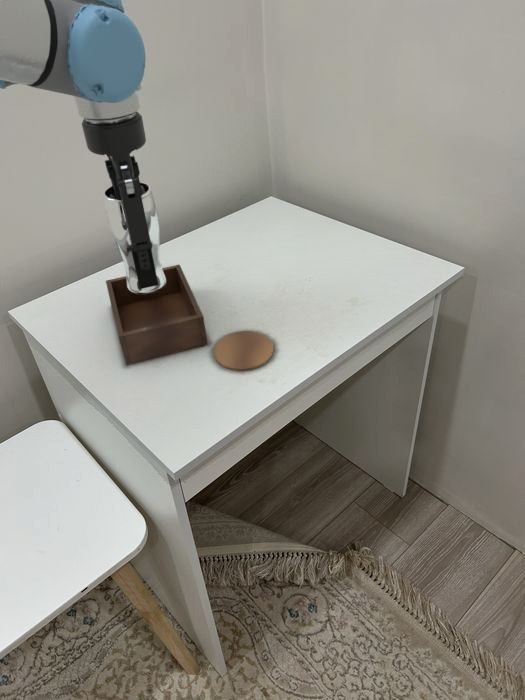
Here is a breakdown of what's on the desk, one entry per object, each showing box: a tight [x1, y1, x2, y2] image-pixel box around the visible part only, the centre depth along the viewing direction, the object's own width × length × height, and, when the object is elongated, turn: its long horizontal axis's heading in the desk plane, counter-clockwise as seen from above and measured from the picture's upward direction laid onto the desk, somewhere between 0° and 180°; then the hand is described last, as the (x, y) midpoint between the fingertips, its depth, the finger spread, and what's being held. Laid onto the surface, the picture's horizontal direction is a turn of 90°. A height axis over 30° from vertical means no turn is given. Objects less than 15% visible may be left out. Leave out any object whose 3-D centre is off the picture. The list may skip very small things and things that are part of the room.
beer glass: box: [102, 181, 167, 294], centre depth 79 cm, size 7×7×15 cm
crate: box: [105, 264, 209, 366], centre depth 87 cm, size 13×17×5 cm
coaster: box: [213, 330, 274, 372], centre depth 82 cm, size 9×9×1 cm
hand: (144, 274), depth 83 cm, fingers closed on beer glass, 6 cm apart
